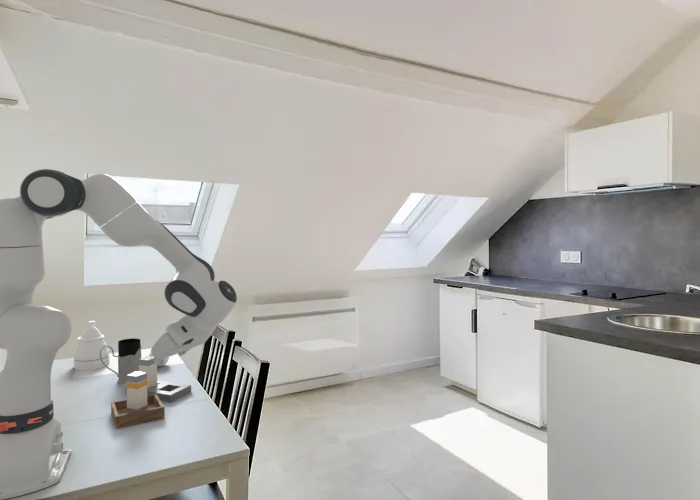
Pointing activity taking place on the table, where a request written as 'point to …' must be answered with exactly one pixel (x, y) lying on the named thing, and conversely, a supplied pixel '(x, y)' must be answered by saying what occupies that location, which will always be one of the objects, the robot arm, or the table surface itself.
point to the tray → (134, 418)
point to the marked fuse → (136, 391)
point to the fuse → (149, 370)
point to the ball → (162, 362)
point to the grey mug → (126, 358)
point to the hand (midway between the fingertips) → (169, 357)
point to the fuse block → (169, 390)
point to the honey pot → (91, 349)
